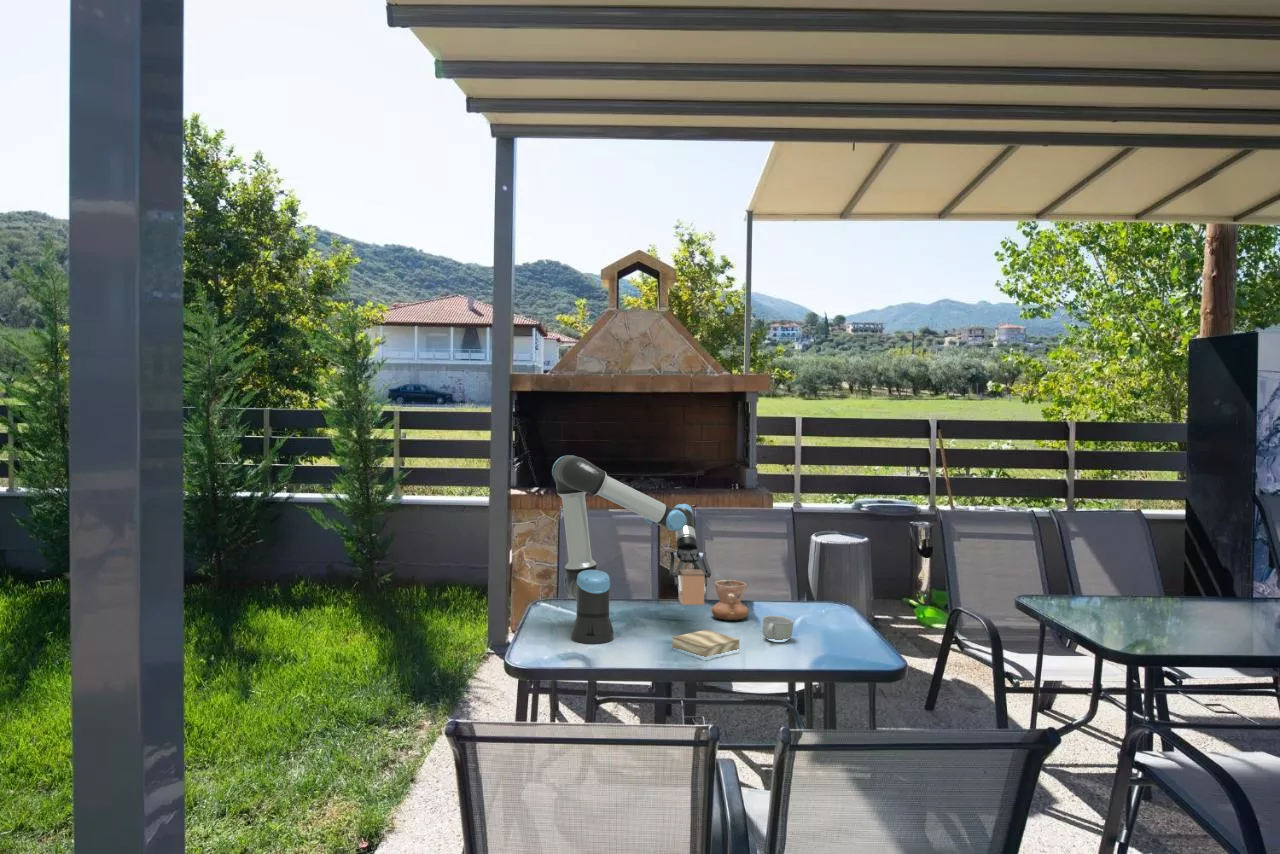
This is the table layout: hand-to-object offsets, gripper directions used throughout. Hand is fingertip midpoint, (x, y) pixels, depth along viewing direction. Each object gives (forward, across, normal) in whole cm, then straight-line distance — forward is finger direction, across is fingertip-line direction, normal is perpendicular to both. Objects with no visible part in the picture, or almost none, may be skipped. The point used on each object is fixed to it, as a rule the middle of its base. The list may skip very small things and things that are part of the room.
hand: (692, 592), depth 315 cm
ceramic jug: (-8, -20, -32) cm, 39 cm away
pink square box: (+1, 0, -4) cm, 4 cm away
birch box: (+24, -2, +1) cm, 24 cm away
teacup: (+16, -29, -7) cm, 34 cm away
